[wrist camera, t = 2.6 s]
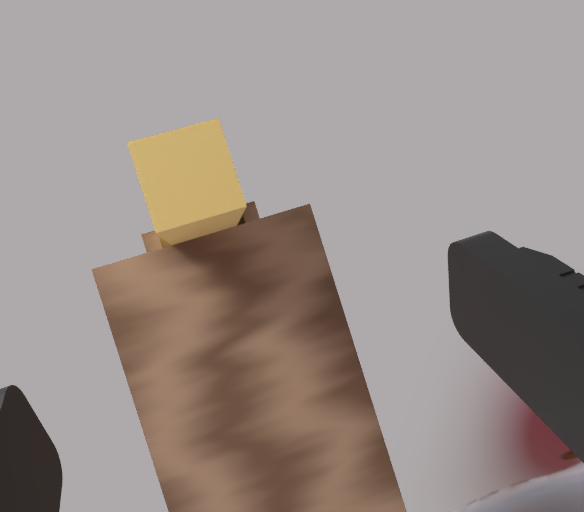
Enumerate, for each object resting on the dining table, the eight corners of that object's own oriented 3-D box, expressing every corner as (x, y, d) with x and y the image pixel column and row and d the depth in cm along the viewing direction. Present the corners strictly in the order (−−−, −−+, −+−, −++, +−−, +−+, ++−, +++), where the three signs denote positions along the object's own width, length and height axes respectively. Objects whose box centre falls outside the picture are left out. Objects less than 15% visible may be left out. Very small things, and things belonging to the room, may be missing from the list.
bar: (229, 240, 40) (214, 195, 40) (246, 206, 21) (218, 118, 21) (183, 254, 40) (168, 209, 40) (155, 233, 20) (127, 142, 20)
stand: (404, 616, 41) (277, 212, 41) (482, 753, 30) (304, 186, 29) (257, 681, 40) (123, 258, 39) (278, 855, 28) (85, 251, 27)
